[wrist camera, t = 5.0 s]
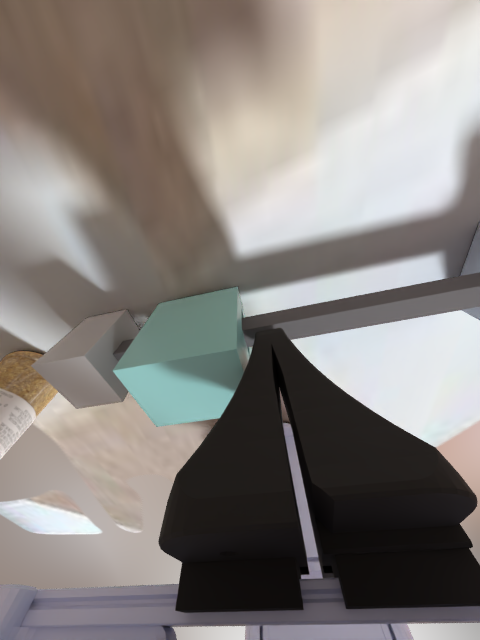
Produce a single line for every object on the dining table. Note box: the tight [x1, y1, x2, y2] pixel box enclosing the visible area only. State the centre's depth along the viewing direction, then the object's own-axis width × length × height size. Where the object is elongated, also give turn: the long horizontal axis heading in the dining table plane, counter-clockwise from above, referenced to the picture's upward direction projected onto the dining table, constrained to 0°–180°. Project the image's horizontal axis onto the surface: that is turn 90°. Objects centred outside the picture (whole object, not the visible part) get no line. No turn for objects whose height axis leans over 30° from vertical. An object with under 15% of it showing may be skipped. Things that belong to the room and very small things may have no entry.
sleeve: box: [113, 287, 252, 427], centre depth 11 cm, size 5×4×6 cm
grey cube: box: [31, 309, 140, 409], centre depth 13 cm, size 4×4×4 cm
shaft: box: [113, 272, 480, 362], centre depth 11 cm, size 23×1×1 cm, turn 103°
